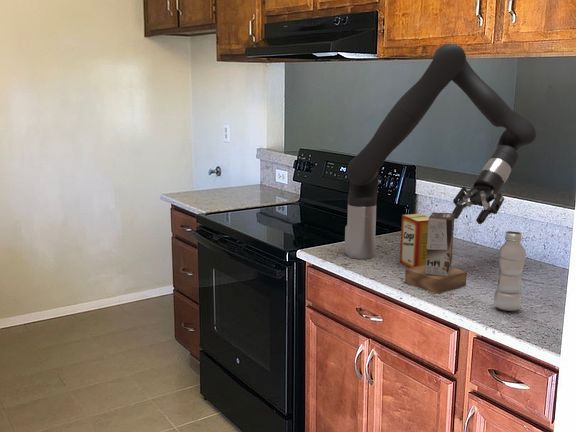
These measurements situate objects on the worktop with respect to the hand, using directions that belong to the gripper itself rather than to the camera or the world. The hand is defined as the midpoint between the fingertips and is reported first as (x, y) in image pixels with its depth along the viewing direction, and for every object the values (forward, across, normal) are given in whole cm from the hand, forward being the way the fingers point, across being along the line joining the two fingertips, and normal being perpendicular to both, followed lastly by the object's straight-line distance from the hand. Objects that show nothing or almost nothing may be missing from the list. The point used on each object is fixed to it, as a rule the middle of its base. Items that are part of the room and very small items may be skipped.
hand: (466, 219), depth 179 cm
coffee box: (+18, +1, +1) cm, 18 cm away
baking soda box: (+14, -15, +10) cm, 23 cm away
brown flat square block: (+20, 0, +4) cm, 21 cm away
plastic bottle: (+21, +24, +3) cm, 32 cm away
